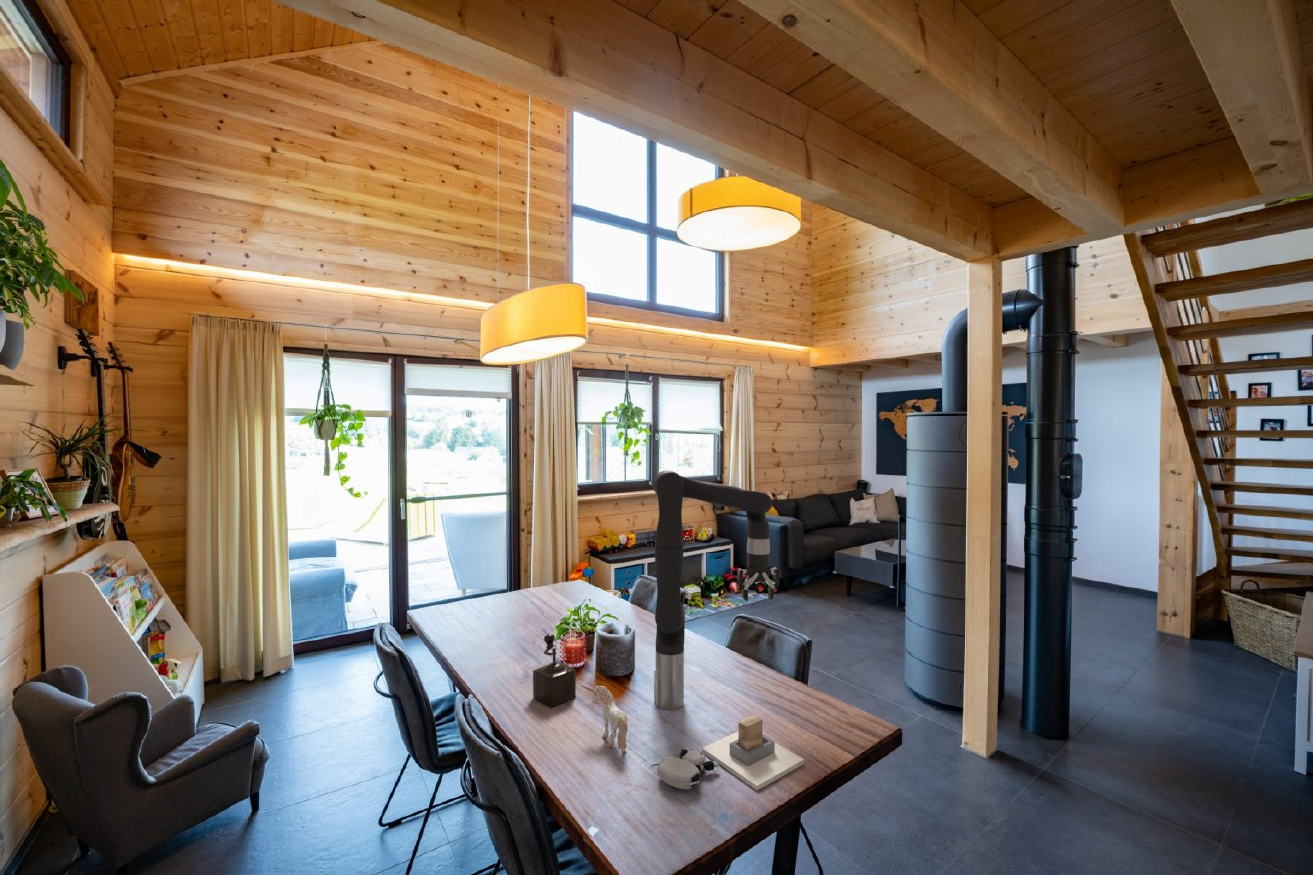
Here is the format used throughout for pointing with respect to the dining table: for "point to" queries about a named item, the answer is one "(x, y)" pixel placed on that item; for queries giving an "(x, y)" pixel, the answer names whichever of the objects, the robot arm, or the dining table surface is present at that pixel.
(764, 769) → the socket base
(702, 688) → the dining table surface
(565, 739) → the dining table surface
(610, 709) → the unicorn figurine
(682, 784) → the robot toy
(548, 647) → the dark block with post
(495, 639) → the dining table surface
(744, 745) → the tall wooden peg block
